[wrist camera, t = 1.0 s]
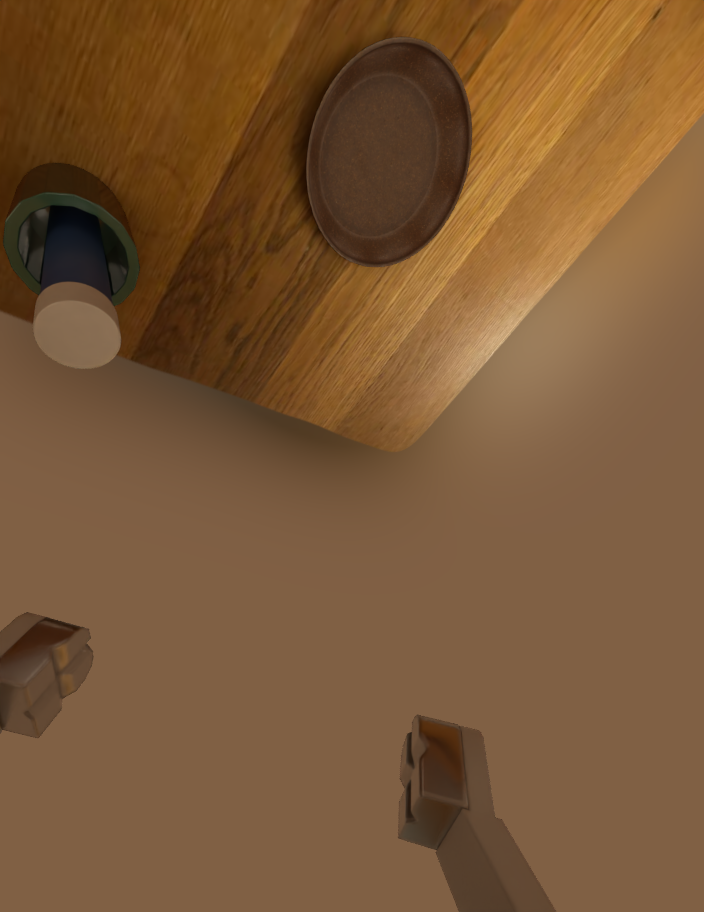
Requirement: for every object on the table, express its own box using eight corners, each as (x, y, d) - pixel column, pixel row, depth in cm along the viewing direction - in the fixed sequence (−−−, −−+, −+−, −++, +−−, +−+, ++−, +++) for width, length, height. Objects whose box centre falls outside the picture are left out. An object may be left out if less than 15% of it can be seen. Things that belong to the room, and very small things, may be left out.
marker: (69, 251, 28) (70, 380, 18) (35, 204, 26) (12, 320, 15) (111, 234, 29) (136, 351, 18) (81, 187, 27) (89, 287, 16)
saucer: (449, 231, 41) (466, 239, 39) (315, 279, 38) (326, 290, 37) (459, 17, 30) (482, 16, 28) (270, 61, 27) (284, 63, 25)
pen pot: (64, 279, 30) (63, 328, 25) (-11, 183, 25) (-31, 220, 20) (145, 246, 31) (160, 287, 26) (87, 147, 26) (92, 173, 21)
